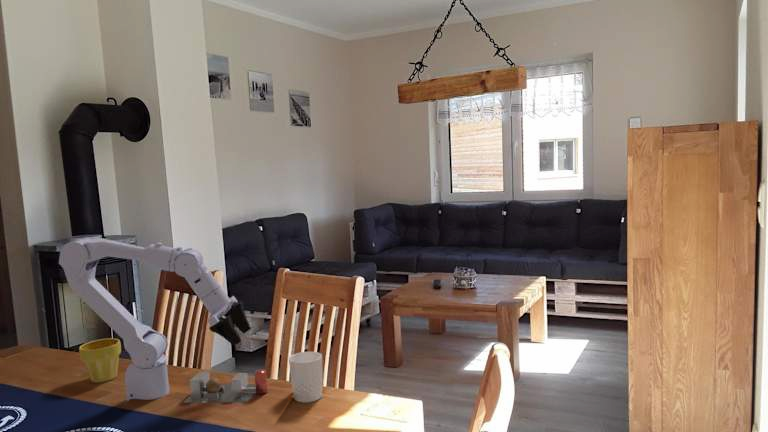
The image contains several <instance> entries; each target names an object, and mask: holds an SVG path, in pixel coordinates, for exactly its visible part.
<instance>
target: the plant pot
mask: <svg viewBox="0 0 768 432" xmlns="http://www.w3.org/2000/svg"><path fill="white" fill-rule="evenodd" d="M78 350H79V351H78V352H79V358H80V361H81V362H83V364H84V366H85V369H86V371H87V374H88V377H89V381H91V382H92V383H103V382H104V383H105V382H108V381H112V380H113V379H115V378H116V377H117V376H118V371H119V370H118V369H119V358H120V354H121V352H122V344H121V341H120V339H118V338H113V337H111V338H110V337H109V338H101V339H96V340H92V341H91V340H90V341H89V342H85V343H83V344H82V345H80V346H79V348H78Z"/></svg>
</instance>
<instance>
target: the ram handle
mask: <svg viewBox="0 0 768 432" xmlns="http://www.w3.org/2000/svg"><path fill="white" fill-rule="evenodd" d="M253 374H254V384H255V387H247V385H248V384H249V380H248V378H249V377H248V373H247V372H237V373H236V374H235V375H234V377H232V379H230V384H231V389H232V392H242V391H243V390H244V392H256V393H255V394H258V395H259V394H261V395H262V394H266V393H267V392H268V378H267V377H268V376H267V370H266V369H262V368H261V369H256V370H254V373H253Z"/></svg>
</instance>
